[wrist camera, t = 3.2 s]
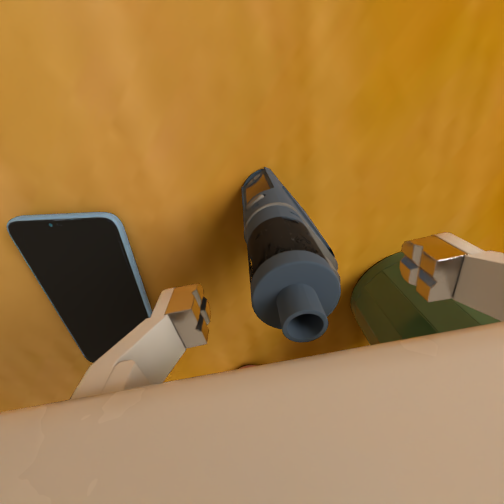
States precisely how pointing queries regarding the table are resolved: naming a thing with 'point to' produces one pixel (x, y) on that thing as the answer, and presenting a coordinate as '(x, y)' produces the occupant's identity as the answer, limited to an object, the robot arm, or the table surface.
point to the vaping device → (287, 261)
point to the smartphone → (85, 274)
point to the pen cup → (405, 307)
